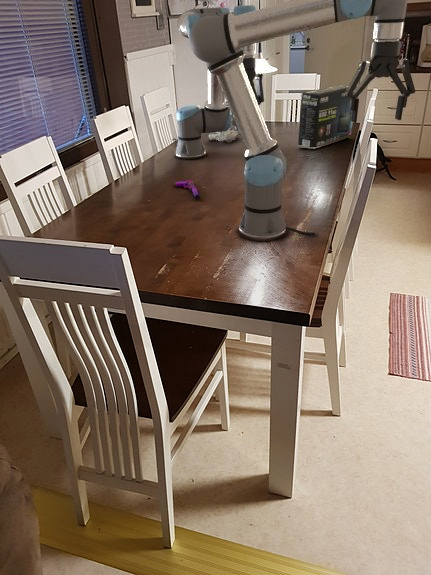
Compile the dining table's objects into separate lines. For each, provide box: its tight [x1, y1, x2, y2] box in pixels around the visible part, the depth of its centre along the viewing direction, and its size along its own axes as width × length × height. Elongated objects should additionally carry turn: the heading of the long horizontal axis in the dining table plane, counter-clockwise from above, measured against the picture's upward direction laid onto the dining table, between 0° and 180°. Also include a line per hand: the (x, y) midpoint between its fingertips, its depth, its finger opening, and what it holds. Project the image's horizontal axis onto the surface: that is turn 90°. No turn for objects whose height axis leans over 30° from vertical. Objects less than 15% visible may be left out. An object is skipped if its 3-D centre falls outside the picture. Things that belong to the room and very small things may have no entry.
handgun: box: [174, 179, 200, 201], centre depth 185 cm, size 21×8×2 cm, turn 11°
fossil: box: [208, 126, 241, 144], centre depth 258 cm, size 18×11×15 cm
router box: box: [297, 84, 358, 151], centre depth 238 cm, size 36×11×27 cm, turn 134°
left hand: (244, 124), depth 173 cm, fingers closed on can, 8 cm apart
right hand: (375, 120), depth 138 cm, fingers open, 13 cm apart
